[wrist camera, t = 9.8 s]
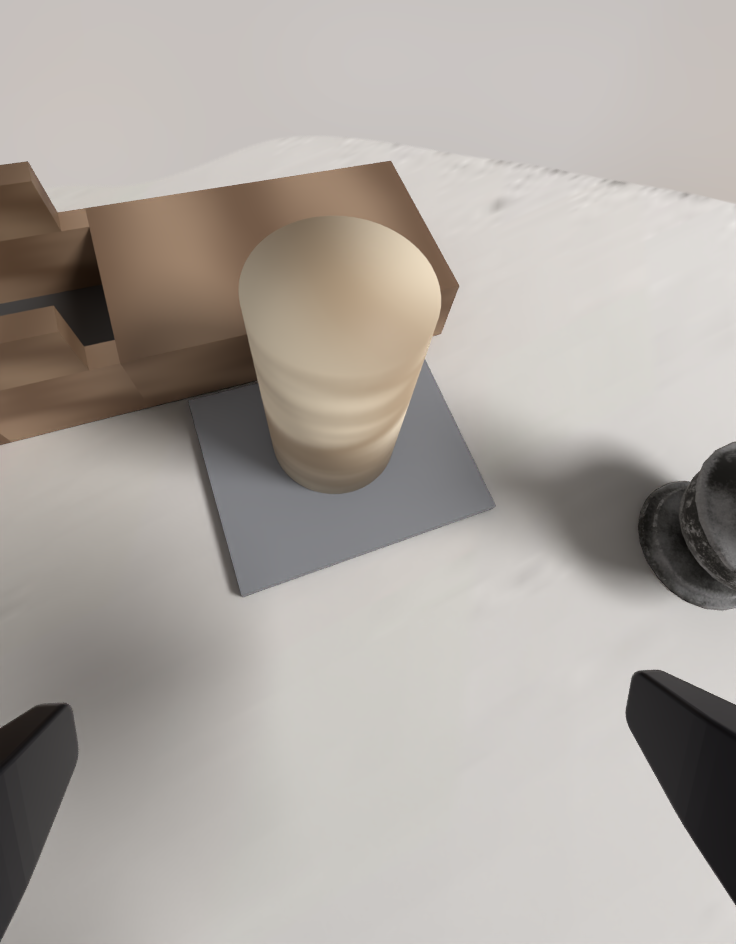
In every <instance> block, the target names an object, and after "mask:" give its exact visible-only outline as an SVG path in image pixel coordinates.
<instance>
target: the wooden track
mask: <svg viewBox="0 0 736 944" xmlns="http://www.w3.org/2000/svg"><path fill="white" fill-rule="evenodd" d="M319 216H348V217H355V218H360V219H364V220H369V221H372V222H375V223H378V224H380V225H383V226H385V227H387V228H389V229H391V230H393V231H395V232H397V233H398V234H400V235H402V236H403V237H405V238H406V239H407V240H409V241H410V242H411V243H412V244H413V245H415V246H416V247H417V248H418V249H419V250H420V251H421V253H422V254H423V255H424V256H425V257H426V258H427V260H428V261H429V263H430V264H431V266H432V268H433V270H434V272H435V274H436V276H437V279H438V283H439V286H440V292H441V309H440V315H439V318H438V321H437V324H436V327H435V330H434V333H433V336H435V335H439V334H441V332H442V330H443V327H444V324H445V322H446V319H447V317H448V314H449V311H450V309H451V306H452V303H453V301H454V298H455V296H456V293H457V290H458V288H459V284H458V282H457V281H456V279H455V277H454V275H453V273H452V272H451V270H450V268H449V266H448V264H447V262H446V261H445V259H444V257H443V255H442V253H441V251H440V250H439V248H438V246H437V244H436V242H435V240H434V239H433V237H432V235H431V233H430V231H429V229H428V228H427V226H426V224H425V222H424V220H423V219H422V217H421V215H420V213H419V211H418V209H417V208H416V206H415V204H414V202H413V200H412V198H411V197H410V195H409V193H408V191H407V189H406V187H405V186H404V184H403V182H402V180H401V178H400V177H399V175H398V173H397V171H396V169H395V167H394V166H393V164H392V162H391V161H387V162H380V163H374V164H367V165H361V166H354V167H348V168H342V169H335V170H329V171H322V172H316V173H309V174H303V175H297V176H290V177H284V178H277V179H271V180H264V181H258V182H252V183H245V184H239V185H232V186H226V187H219V188H213V189H207V190H200V191H194V192H187V193H181V194H174V195H168V196H162V197H155V198H149V199H142V200H136V201H129V202H123V203H117V204H110V205H104V206H97V207H91V208H84V209H78V210H72V211H65V212H59V213H57V211H56V209H55V207H54V206H53V204H52V202H51V200H50V199H49V197H48V195H47V194H46V192H45V190H44V188H43V187H42V185H41V183H40V181H39V180H38V178H37V176H36V175H35V173H34V171H33V169H32V168H31V166H30V164H29V163H28V162H21V163H12V164H5V165H0V445H2V444H6V443H10V442H14V441H18V440H22V439H26V438H30V437H34V436H38V435H42V434H46V433H50V432H53V431H57V430H61V429H65V428H69V427H73V426H77V425H81V424H85V423H89V422H93V421H97V420H101V419H105V418H109V417H113V416H117V415H121V414H125V413H129V412H133V411H137V410H141V409H145V408H149V407H153V406H157V405H161V404H165V403H169V402H173V401H177V400H181V399H185V398H189V397H192V396H196V395H200V394H204V393H208V392H212V391H216V390H220V389H224V388H228V387H232V386H236V385H240V384H244V383H248V382H252V381H256V380H257V375H256V371H255V367H254V362H253V358H252V354H251V349H250V345H249V341H248V336H247V332H246V328H245V323H244V319H243V315H242V311H241V306H240V301H239V280H240V275H241V271H242V269H243V266H244V264H245V262H246V260H247V258H248V257H249V255H250V253H251V252H252V251H253V250H254V248H255V247H256V246H257V245H258V244H259V243H260V242H261V241H262V240H263V239H265V238H266V237H267V236H268V235H270V234H271V233H273V232H274V231H276V230H278V229H280V228H282V227H284V226H285V225H288V224H291V223H293V222H296V221H299V220H303V219H307V218H313V217H319Z"/></svg>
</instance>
